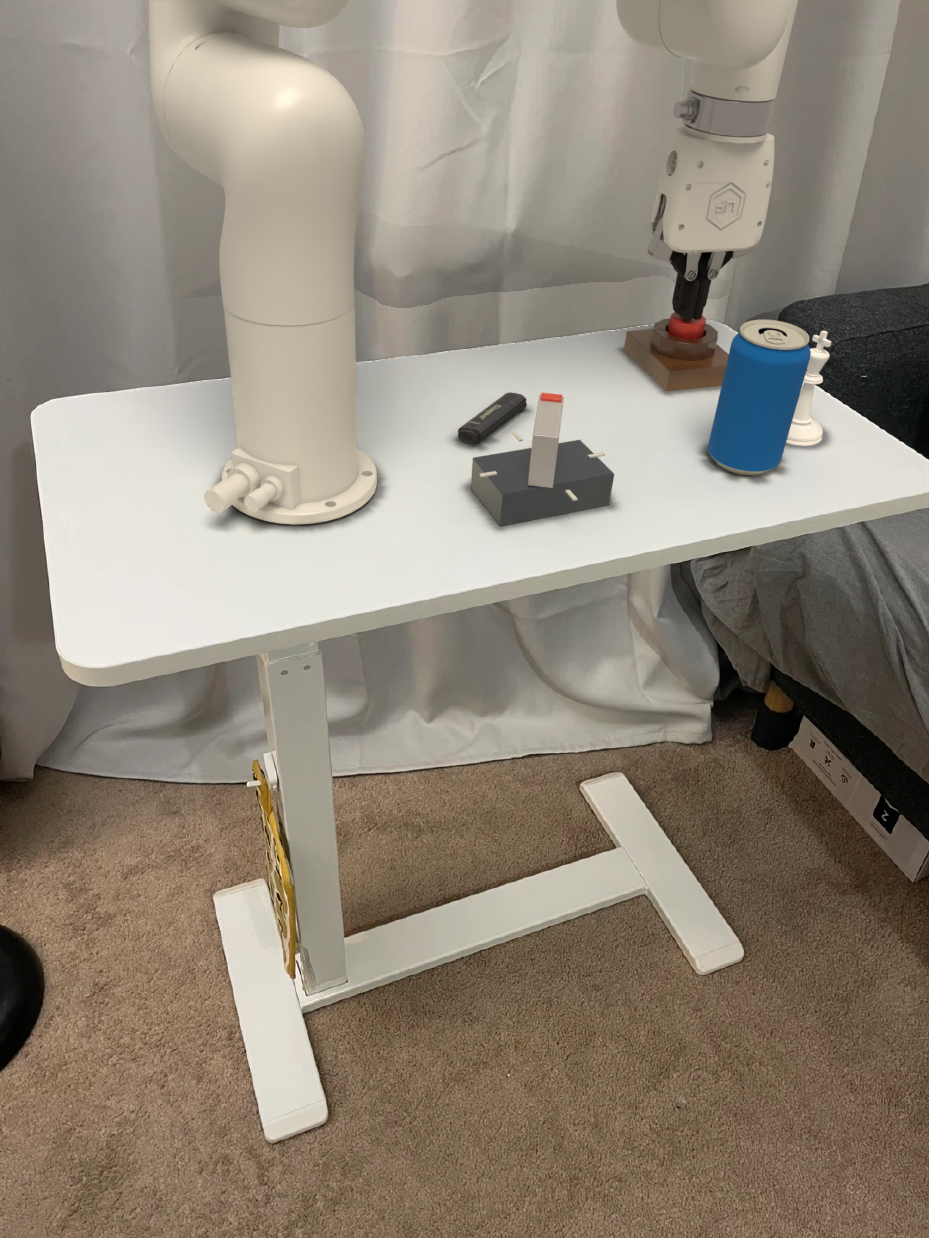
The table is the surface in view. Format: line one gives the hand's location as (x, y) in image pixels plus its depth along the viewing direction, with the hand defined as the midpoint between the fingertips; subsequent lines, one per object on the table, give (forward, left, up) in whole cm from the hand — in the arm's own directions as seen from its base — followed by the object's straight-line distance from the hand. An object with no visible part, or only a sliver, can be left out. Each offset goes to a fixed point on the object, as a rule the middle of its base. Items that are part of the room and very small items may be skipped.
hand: (686, 314), depth 101 cm
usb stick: (-22, +11, -6) cm, 25 cm away
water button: (0, 0, -2) cm, 2 cm away
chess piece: (-8, -14, -6) cm, 17 cm away
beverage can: (-16, -11, -6) cm, 20 cm away
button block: (0, 0, -6) cm, 6 cm away
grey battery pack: (-31, +2, -3) cm, 31 cm away
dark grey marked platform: (-31, +2, -6) cm, 32 cm away
